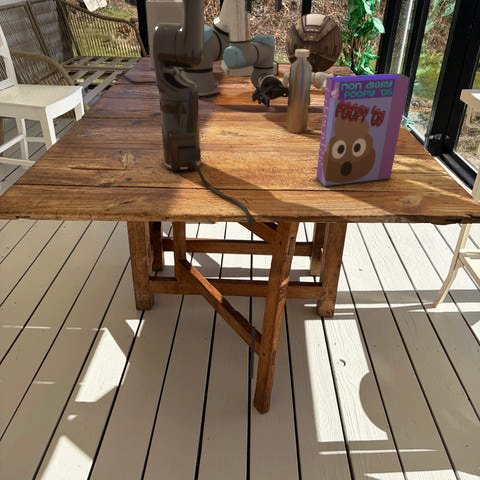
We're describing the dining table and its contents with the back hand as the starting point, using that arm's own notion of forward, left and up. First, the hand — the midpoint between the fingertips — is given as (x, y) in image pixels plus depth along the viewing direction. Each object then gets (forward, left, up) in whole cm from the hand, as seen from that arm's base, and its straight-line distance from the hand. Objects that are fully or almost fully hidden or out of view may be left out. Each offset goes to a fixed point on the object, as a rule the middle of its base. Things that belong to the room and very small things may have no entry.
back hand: (289, 102), depth 152 cm
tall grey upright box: (-95, +15, -6) cm, 96 cm away
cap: (+8, -4, +17) cm, 19 cm away
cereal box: (+44, -19, -6) cm, 48 cm away
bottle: (+8, -4, -6) cm, 11 cm away
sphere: (-45, +57, -6) cm, 73 cm away
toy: (-22, +38, -6) cm, 44 cm away
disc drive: (-65, +36, -6) cm, 75 cm away
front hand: (-2, -10, +26) cm, 28 cm away
